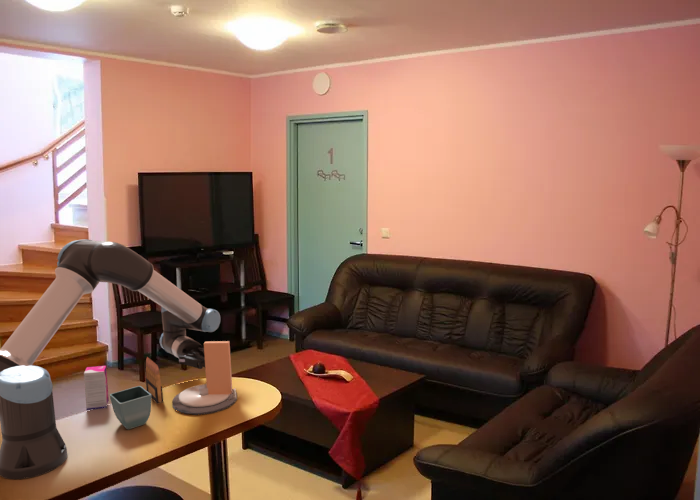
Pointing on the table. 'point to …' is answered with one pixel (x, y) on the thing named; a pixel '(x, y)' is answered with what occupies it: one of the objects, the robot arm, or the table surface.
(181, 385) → the table surface
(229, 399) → the base
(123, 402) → the flower pot
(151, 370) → the ammunition clip
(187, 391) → the dial
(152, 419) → the table surface
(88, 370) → the supplement box
